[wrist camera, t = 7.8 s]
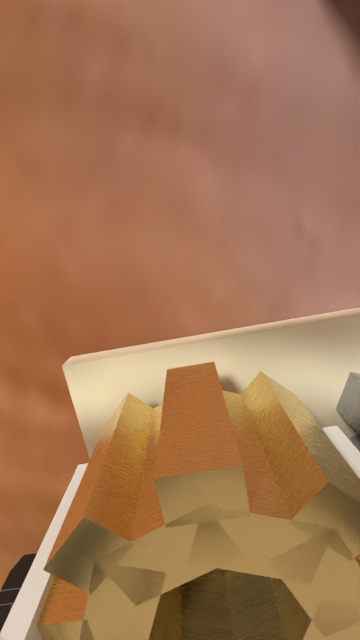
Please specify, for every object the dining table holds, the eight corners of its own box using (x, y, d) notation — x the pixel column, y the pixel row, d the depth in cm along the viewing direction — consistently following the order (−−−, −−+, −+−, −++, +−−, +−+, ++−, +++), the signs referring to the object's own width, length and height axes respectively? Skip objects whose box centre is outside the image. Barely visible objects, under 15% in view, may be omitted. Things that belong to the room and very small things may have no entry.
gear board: (71, 356, 15) (16, 412, 10) (543, 276, 14) (743, 293, 9) (120, 526, 18) (95, 637, 13) (520, 470, 17) (666, 567, 12)
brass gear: (74, 384, 13) (-16, 503, 7) (311, 345, 12) (428, 438, 6) (126, 562, 15) (92, 761, 9) (325, 536, 15) (420, 728, 9)
